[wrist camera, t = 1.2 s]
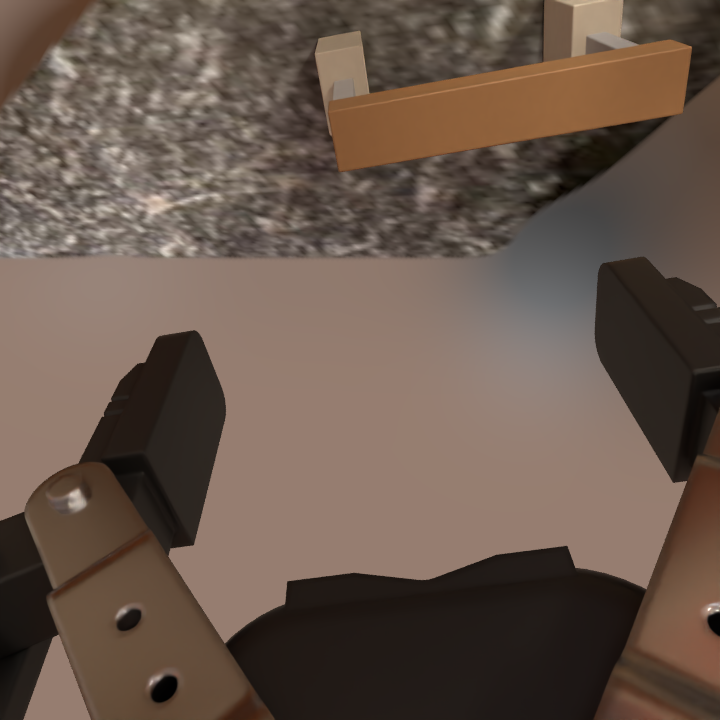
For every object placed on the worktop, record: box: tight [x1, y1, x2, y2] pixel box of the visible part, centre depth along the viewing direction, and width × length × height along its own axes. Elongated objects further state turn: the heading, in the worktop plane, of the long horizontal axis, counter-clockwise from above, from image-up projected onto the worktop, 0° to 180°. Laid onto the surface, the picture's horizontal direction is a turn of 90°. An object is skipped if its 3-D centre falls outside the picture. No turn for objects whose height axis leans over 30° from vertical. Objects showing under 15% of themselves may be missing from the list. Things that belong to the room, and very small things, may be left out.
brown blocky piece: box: [315, 0, 692, 172], centre depth 29 cm, size 4×15×14 cm, turn 99°
